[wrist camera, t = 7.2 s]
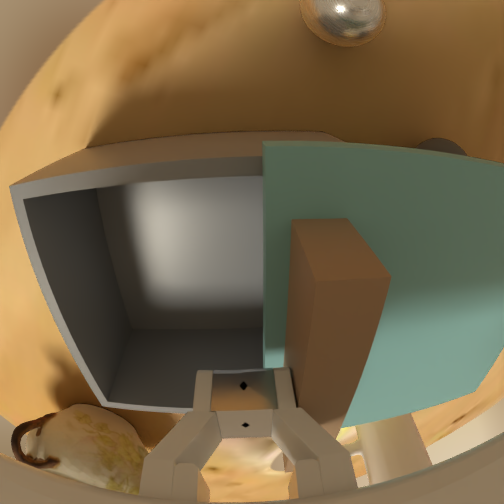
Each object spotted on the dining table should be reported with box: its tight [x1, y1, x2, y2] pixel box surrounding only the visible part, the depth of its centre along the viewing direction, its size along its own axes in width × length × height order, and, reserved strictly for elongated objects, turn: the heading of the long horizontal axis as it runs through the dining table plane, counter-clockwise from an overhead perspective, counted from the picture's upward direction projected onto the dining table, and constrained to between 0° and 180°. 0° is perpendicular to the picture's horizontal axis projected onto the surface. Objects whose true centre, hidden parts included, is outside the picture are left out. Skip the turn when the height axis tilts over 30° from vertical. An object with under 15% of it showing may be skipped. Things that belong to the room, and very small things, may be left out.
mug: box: [342, 413, 433, 485], centre depth 24 cm, size 10×7×12 cm, turn 101°
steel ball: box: [300, 0, 386, 47], centre depth 10 cm, size 4×4×4 cm
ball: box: [415, 138, 467, 156], centre depth 14 cm, size 4×4×4 cm
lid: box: [262, 141, 504, 472], centre depth 10 cm, size 14×14×4 cm
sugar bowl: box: [11, 404, 149, 495], centre depth 21 cm, size 20×15×15 cm
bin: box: [9, 131, 344, 414], centre depth 15 cm, size 13×13×7 cm
